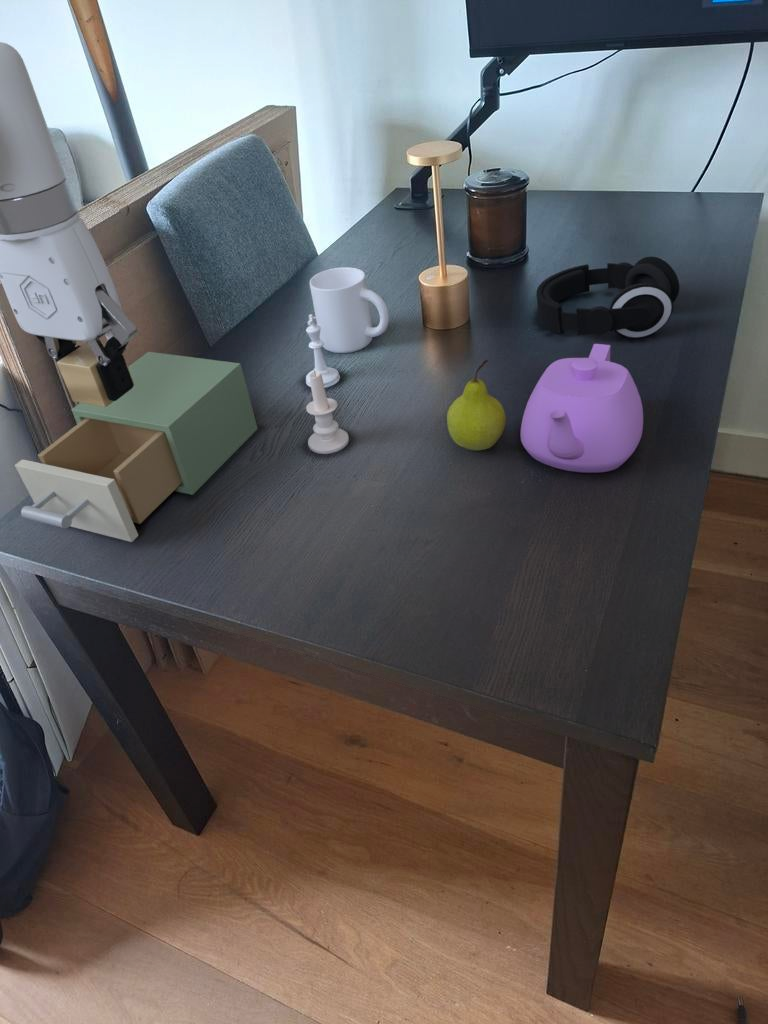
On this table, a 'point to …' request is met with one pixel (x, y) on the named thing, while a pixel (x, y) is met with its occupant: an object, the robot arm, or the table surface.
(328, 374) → the chess piece
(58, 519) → the drawer
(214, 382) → the cabinet
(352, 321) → the mug
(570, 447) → the teapot
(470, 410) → the fruit
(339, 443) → the candle
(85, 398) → the block
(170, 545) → the table surface
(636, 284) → the headphones
